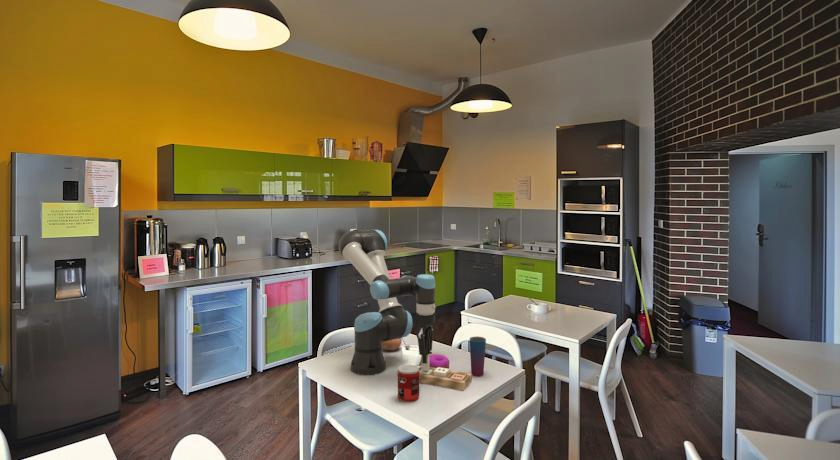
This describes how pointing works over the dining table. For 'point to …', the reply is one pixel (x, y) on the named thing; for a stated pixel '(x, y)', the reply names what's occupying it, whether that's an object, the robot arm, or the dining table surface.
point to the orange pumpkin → (391, 344)
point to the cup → (477, 355)
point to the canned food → (408, 383)
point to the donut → (438, 361)
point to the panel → (445, 379)
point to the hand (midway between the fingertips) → (425, 370)
